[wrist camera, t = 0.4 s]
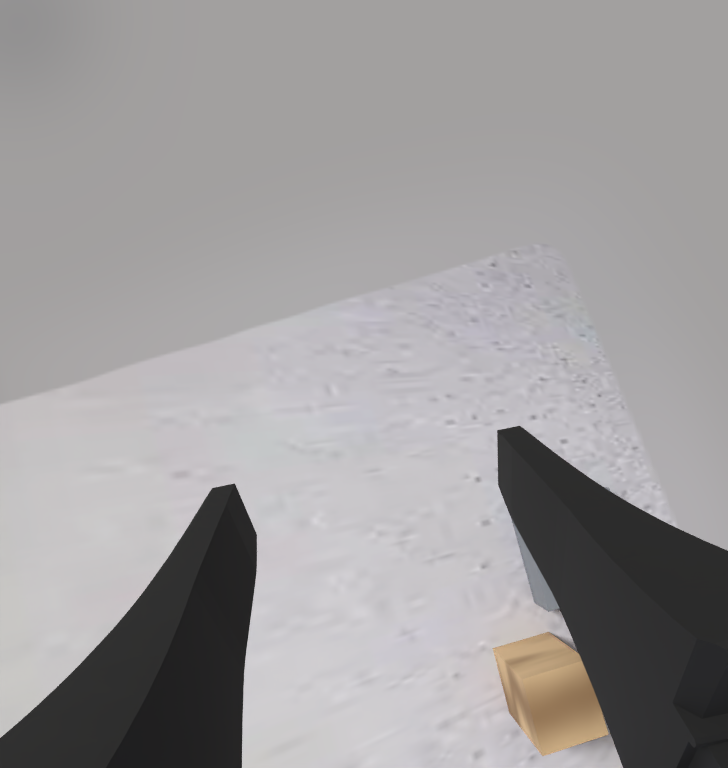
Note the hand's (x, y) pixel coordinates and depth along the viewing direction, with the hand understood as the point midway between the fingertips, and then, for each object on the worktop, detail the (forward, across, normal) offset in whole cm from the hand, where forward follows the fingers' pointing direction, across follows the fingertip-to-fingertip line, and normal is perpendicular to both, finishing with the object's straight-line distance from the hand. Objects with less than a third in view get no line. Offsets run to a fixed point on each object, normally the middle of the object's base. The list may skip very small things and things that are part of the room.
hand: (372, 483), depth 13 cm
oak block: (+10, -9, +34) cm, 36 cm away
